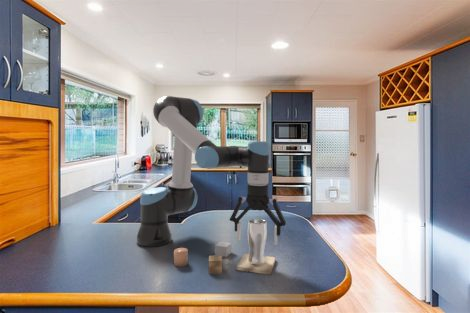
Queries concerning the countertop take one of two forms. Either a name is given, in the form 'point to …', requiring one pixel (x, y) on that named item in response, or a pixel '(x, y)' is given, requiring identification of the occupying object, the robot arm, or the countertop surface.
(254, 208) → the robot arm
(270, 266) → the beech board
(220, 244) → the grey plastic box
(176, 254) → the peach rounded capsule
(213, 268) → the oak cube
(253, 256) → the silver metal cup
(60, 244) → the countertop surface
